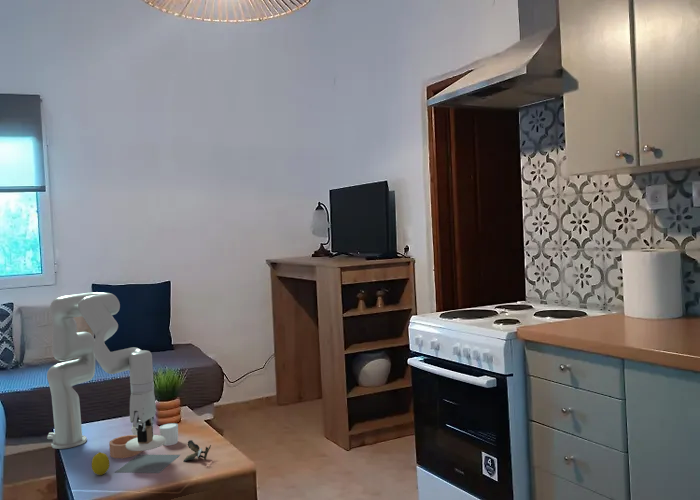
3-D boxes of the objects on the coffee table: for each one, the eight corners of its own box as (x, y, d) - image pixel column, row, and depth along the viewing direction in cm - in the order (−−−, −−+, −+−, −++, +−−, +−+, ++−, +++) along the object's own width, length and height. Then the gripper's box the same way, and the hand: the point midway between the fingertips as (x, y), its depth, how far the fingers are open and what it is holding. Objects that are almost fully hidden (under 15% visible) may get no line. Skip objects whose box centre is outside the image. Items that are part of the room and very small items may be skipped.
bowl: (104, 459, 227) (103, 445, 227) (120, 448, 238) (119, 434, 238) (132, 459, 225) (131, 445, 225) (148, 448, 236) (147, 435, 236)
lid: (118, 450, 214) (117, 433, 214) (137, 436, 227) (136, 420, 226) (154, 451, 212) (152, 434, 211) (171, 437, 224) (170, 421, 224)
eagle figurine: (212, 451, 225) (189, 446, 226) (210, 439, 220) (186, 434, 222) (204, 470, 219) (179, 465, 220) (201, 457, 214) (176, 452, 216)
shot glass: (182, 440, 242) (180, 422, 242) (175, 447, 235) (174, 428, 235) (164, 441, 243) (163, 423, 242) (157, 447, 236) (156, 429, 236)
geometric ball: (139, 443, 250) (137, 424, 254) (157, 435, 249) (154, 416, 253) (128, 440, 244) (125, 420, 248) (146, 432, 243) (143, 412, 247)
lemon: (95, 473, 214) (93, 450, 214) (112, 471, 215) (110, 448, 214) (90, 480, 209) (88, 456, 208) (107, 478, 209) (105, 454, 209)
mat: (114, 473, 213) (114, 472, 213) (139, 455, 228) (138, 454, 228) (159, 474, 210) (158, 472, 210) (180, 456, 225) (180, 454, 225)
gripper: (144, 380, 227) (147, 431, 228) (119, 394, 210) (122, 448, 212) (163, 380, 225) (166, 431, 226) (140, 394, 209) (143, 449, 210)
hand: (145, 439), depth 219 cm, fingers closed on lid, 3 cm apart
